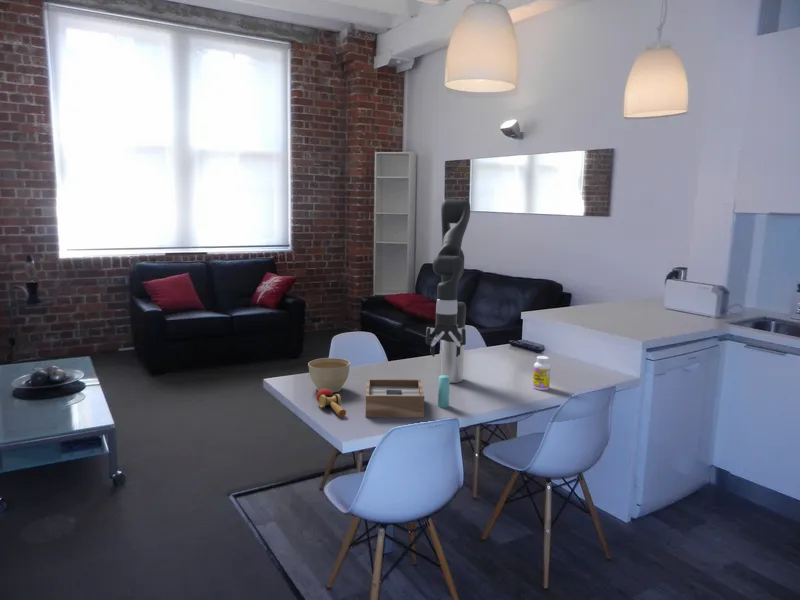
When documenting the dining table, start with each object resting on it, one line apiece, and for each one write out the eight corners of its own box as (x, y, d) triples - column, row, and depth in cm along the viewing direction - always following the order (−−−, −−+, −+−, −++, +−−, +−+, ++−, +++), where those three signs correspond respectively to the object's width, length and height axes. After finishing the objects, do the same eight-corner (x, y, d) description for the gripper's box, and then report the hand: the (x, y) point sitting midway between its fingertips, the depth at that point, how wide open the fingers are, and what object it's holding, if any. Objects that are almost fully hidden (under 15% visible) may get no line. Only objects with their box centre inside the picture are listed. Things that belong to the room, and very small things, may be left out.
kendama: (353, 418, 207) (332, 397, 222) (352, 403, 205) (330, 382, 219) (333, 426, 204) (313, 403, 218) (331, 410, 201) (311, 388, 216)
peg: (437, 404, 220) (438, 375, 218) (448, 404, 220) (449, 375, 218) (438, 407, 216) (439, 378, 214) (449, 407, 216) (450, 378, 214)
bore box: (366, 398, 225) (367, 378, 224) (420, 398, 225) (420, 379, 224) (365, 416, 205) (365, 395, 204) (423, 417, 206) (424, 396, 205)
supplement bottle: (529, 387, 242) (530, 356, 240) (538, 384, 247) (540, 354, 245) (543, 391, 237) (545, 360, 235) (552, 388, 242) (554, 357, 240)
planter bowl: (330, 381, 245) (330, 355, 244) (358, 389, 235) (358, 362, 233) (299, 390, 233) (299, 362, 231) (328, 399, 223) (328, 370, 221)
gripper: (465, 310, 216) (463, 353, 219) (425, 309, 216) (424, 353, 218) (468, 313, 209) (466, 359, 211) (427, 313, 208) (426, 358, 211)
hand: (445, 356), depth 215 cm, fingers open, 8 cm apart
